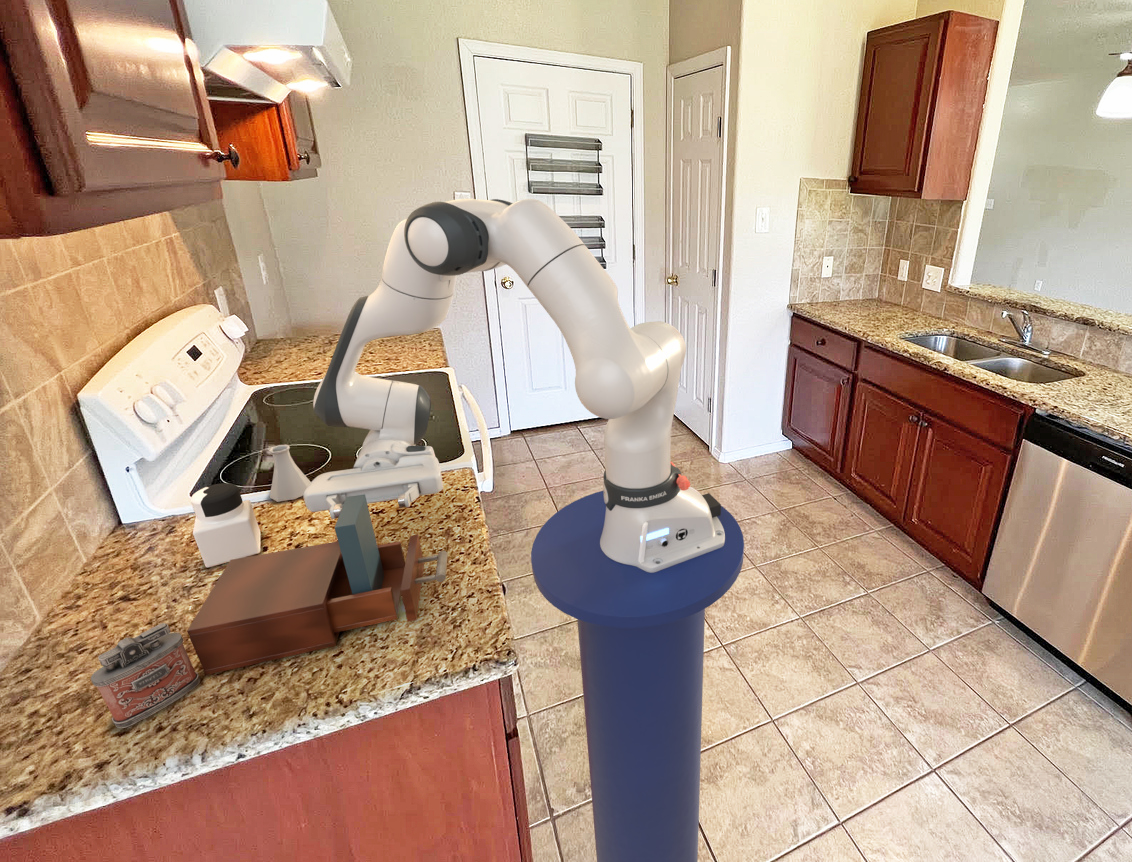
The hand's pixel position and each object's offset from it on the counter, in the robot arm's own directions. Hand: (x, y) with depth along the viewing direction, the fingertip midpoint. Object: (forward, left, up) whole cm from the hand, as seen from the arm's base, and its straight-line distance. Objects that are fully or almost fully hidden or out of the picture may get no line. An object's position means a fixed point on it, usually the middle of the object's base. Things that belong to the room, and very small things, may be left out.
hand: (370, 509), depth 91 cm
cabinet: (+11, +9, -11) cm, 18 cm away
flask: (+20, -31, -11) cm, 38 cm away
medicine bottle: (+24, -13, -11) cm, 29 cm away
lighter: (+22, +19, -11) cm, 32 cm away
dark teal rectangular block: (0, +9, -9) cm, 13 cm away
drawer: (-2, +9, -10) cm, 14 cm away
